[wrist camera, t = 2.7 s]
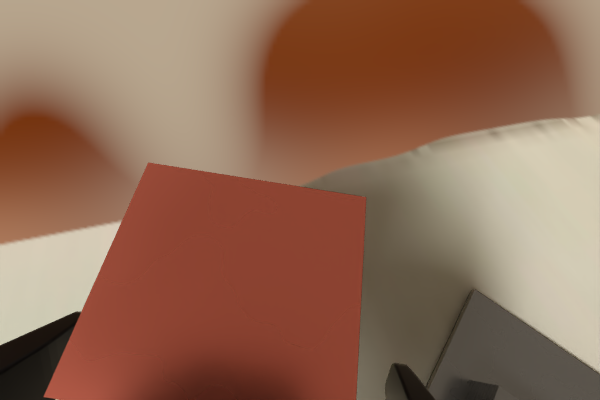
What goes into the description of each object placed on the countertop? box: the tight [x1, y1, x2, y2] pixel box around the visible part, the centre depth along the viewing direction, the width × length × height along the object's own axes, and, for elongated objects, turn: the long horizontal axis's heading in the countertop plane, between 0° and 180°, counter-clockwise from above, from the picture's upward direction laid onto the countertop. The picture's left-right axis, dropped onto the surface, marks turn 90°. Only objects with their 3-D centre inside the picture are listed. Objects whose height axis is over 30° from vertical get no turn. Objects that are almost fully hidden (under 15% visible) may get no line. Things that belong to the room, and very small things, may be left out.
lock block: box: [44, 163, 366, 400], centre depth 12 cm, size 5×5×13 cm
